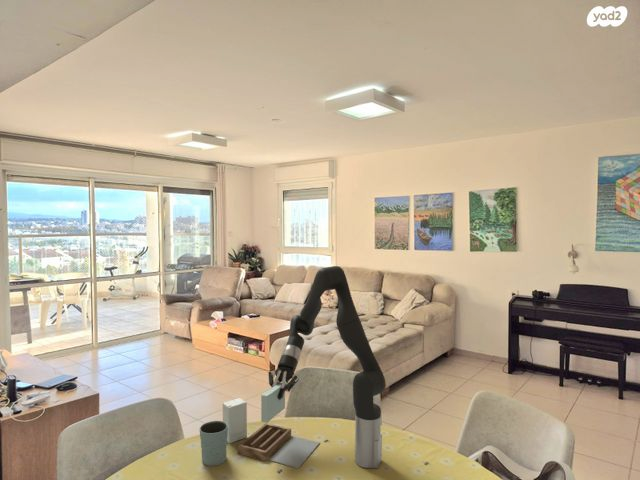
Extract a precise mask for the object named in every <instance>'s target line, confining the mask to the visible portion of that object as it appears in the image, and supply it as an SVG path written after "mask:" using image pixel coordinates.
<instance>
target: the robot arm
mask: <svg viewBox="0 0 640 480" xmlns="http://www.w3.org/2000/svg"><path fill="white" fill-rule="evenodd" d="M310 288H311V289H310V292H309V294H308V297H307V300H306V302H304V303H305V304H304V305H303V307H302V308H301V311H300V315H299V314H296V315H294V316H293V317H292V318H291V320H290V323H289V335H288V339H287V342H286V345H285V346H284V349H283V351H282V353H281V356H280V358H279V361H278V362H277V363H278V364H277V367H276V369H275V370H274V371H268V385H269V386H270V387H271V388H272V387H274V386H275V385H277V384H279V383H282V386H281V388H280V391H279V394H278V397H277V398H278V399H279V400H281V398H283V395H284V392H285V393H286V391H290V390H292V389H293V387H294V386H295V385H296V384H297V382H299V377H298V376H297V375H296V374H295V372H296V370H297V366H298V363H299V361H300V357H301V355H302V354H301V353H302V351H303V347H304V344H305V339H304V337H303V336H310V335H311V334H312V333H313V331H314V326H315V321H316V318H317V317H318V315H319V313H320V312H321V310H322V306H323V305H322V298H321V297H322V295H324V293H325V292H326V291H334V290H335V293H336V296H337V300H338V301H337V302H338V306H337V307H338V308H337V314H336V318H335V319H336V321H335V323H336V328H337V329H338V332H339V333H338V334H339V336H340V338H341V340H342V342H343V343H344V345H345V346H346V347H347V348H348V349H349V350H350V351H351V352H352V353H353V354H354V356H356V358H357V359H358V361H359V363H360V366H361V368H362V371H360V372H358V373H356V374H354V375H355V376H354V377H353V379H352V380H353V382H352V394H353V395H352V399H353V408H354V411H355V414H354V415H355V419H354V420H355V422H354V423H355V425H354V428H355V430H354V431H355V433H354V436H355V437H354V461H355V462H354V463H355V464H356V465H357V466H359V467H361V468H365V469H379V466H380V465H381V462H382V461H383V435H382V434H381V431H382V430H381V429H382V423H381V422H382V421H381V420H382V408H381V407H380V405H379V404H376V403H375V402H374V397H375V396H378V395H380V394H382V393H383V392H384V391H385V390H386V385H387V384H386V379H385V375H384V373H383V371H382V369H381V367H380V364H379V362H378V360H377V359H376V356H375V355H374V352H373V349H372V347H371V345H370V343H369V341H368V337H367V335H366V333H365V329H364V326H363V324H362V321H361V318H360V317H359V315H358V312H357V309H356V306H355V303H354V300H353V298H352V293H351V291H350V287H349V282H348V278H347V276H346V273H345V271H344V270H343V268H342V267H341V266H338V265H336V266H326V267H325V266H324V267H321V268H320V269H318V270H317V272H316V274H315V276H314V279H313V282H312V285H311V287H310ZM301 334H302V335H303V336H302V335H301Z"/></svg>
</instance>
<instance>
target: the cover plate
mask: <svg viewBox="0 0 640 480" xmlns="http://www.w3.org/2000/svg"><path fill="white" fill-rule="evenodd" d="M281 386H282V382H281V383H279V384H277V385H275V386H274V387H271V388H270V389H268V390H266V391H265V392H264V393H262V394H261V401H260V402H261V404H260V406H261V412H260V413H261V415H260V417H261V418H260V419H261V422H263V423H265V424H266V423H267V424H269V422H270V421H271V420H273V419H274V418H275V417H276V416H278V415H279V414H280V413H281V412H282V411H283V410H285V409H286V391H285V392H284V395H283V398H281V400H279V399H278V398H277V397H278V394H279V391H280V388H281Z"/></svg>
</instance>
